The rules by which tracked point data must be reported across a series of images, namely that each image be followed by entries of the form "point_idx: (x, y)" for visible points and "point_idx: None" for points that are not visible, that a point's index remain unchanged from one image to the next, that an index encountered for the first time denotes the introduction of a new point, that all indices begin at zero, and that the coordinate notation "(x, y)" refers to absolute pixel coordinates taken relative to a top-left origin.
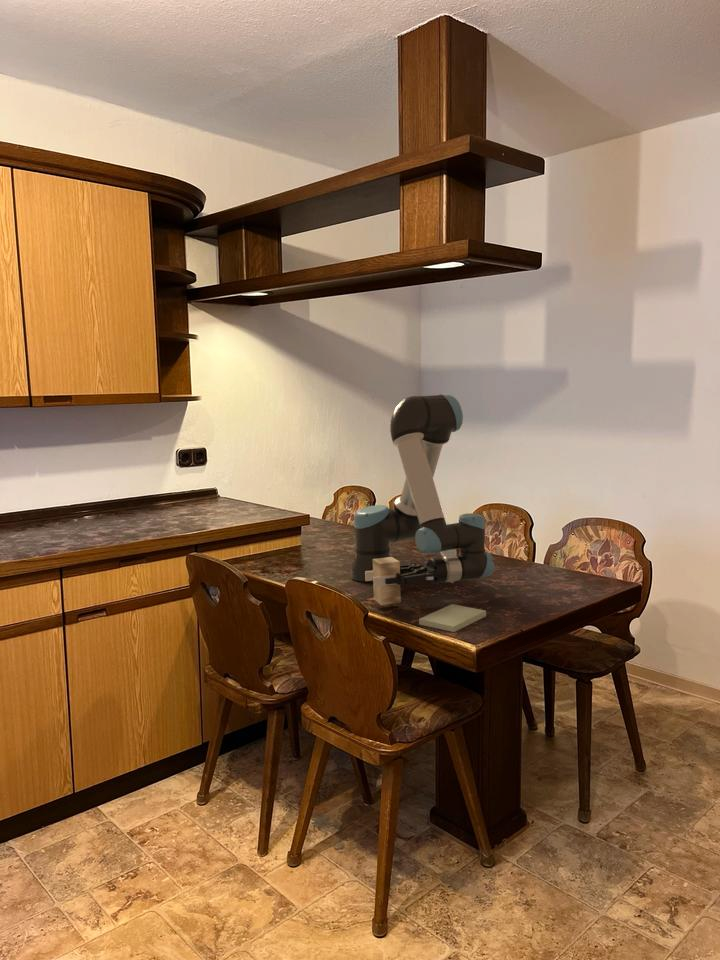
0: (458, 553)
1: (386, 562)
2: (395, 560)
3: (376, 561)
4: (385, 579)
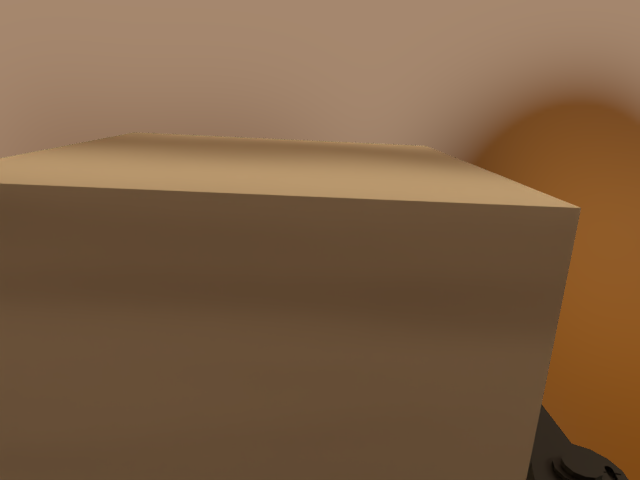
0: None
1: (124, 143)
2: (106, 174)
3: (278, 139)
4: None
